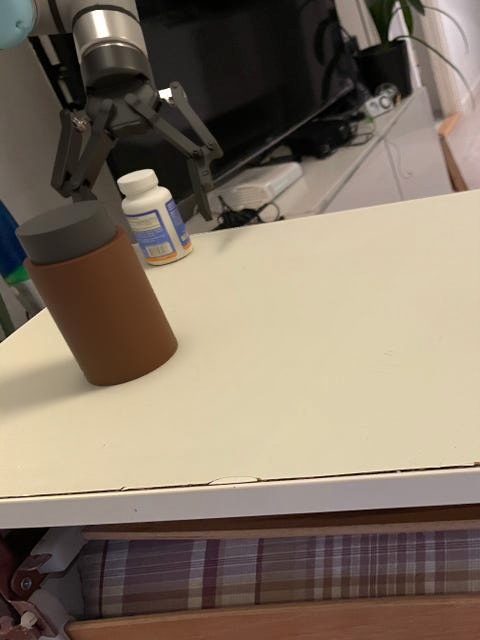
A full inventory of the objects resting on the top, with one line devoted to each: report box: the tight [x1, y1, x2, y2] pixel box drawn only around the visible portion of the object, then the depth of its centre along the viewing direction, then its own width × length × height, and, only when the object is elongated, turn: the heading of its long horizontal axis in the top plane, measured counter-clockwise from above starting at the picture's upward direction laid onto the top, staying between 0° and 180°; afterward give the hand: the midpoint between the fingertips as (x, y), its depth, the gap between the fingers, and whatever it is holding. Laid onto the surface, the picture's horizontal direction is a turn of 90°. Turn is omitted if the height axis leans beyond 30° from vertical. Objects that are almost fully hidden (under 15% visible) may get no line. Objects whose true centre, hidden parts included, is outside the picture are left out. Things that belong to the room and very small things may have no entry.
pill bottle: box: [116, 168, 194, 266], centre depth 87 cm, size 5×5×10 cm
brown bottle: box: [14, 199, 179, 387], centre depth 64 cm, size 8×8×14 cm
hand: (152, 230), depth 85 cm, fingers open, 11 cm apart
